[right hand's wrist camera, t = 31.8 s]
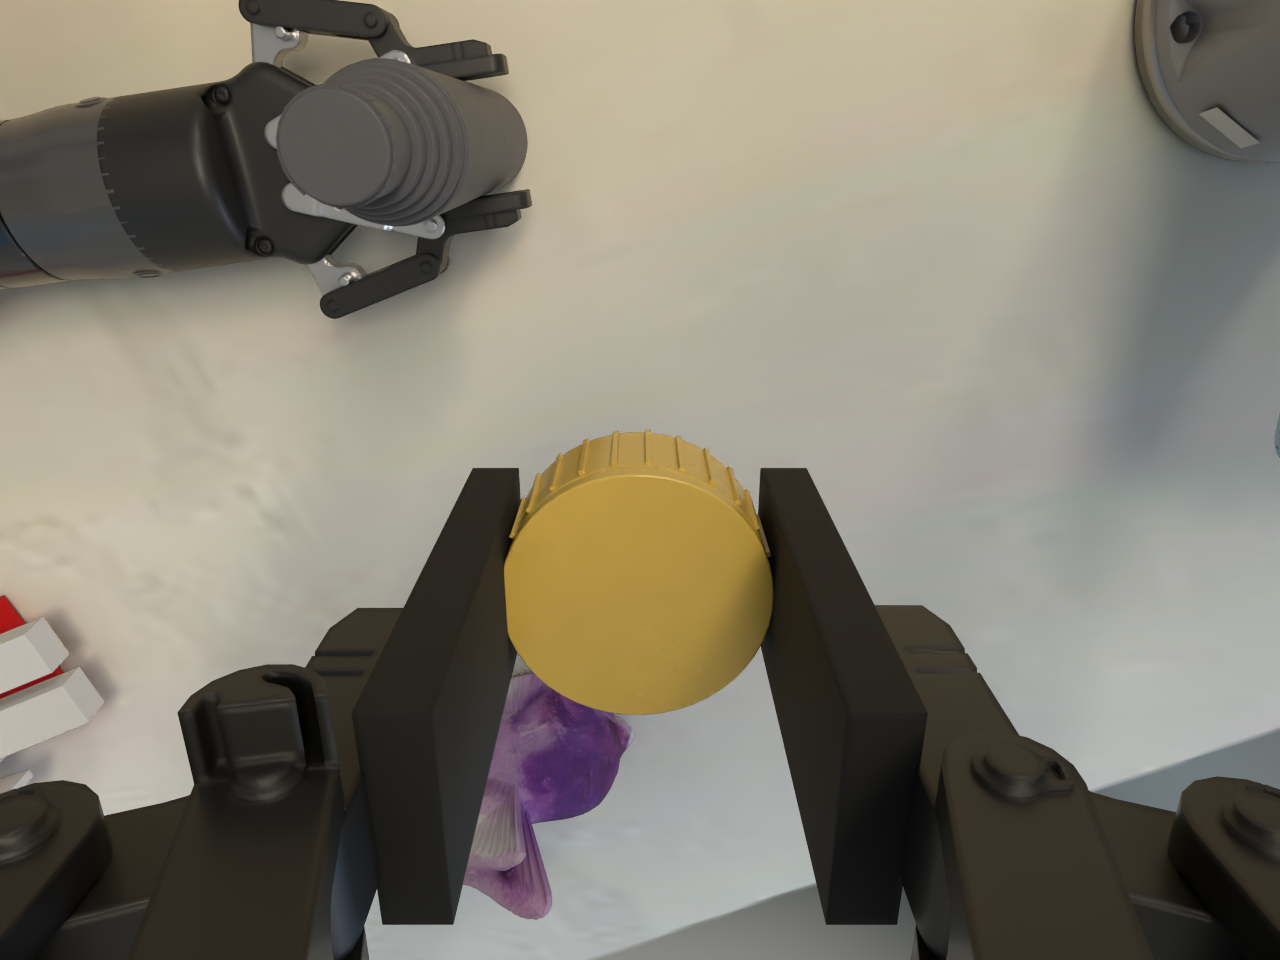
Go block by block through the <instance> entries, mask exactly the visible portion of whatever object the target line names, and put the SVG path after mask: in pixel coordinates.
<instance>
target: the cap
mask: <svg viewBox="0 0 1280 960" xmlns="http://www.w3.org/2000/svg"><path fill="white" fill-rule="evenodd" d="M509 537H510V538H512V541H511V544H510V547H509V550H508V553H507V556H506V560H505V563H504V581H505V597H506V612H507V628H508V636H509V638H510V640H511V642H512V644H513V646H514V648H515V649H516V651H517V653H518V654H519V656H520V657H521V658H522V660H523V661H524V663H525V664H526V665H527V666H528V667H529V669H530V670H531V671H532V672H533V673H534V674H535V675H536V676H537V677H538V678H539V679H541V680H542V681H543V682H544V683H545V684H546V685H548V686H549V687H550V688H552V689H553V690H555V691H556V692H558V693H560V694H561V695H563V696H565V697H567V698H569V699H571V700H573V701H575V702H577V703H579V704H582V705H585V706H587V707H590V708H593V709H597V710H601V711H605V712H610V713H618V714H626V715H647V714H657V713H664V712H669V711H673V710H678V709H681V708H684V707H687V706H690V705H693V704H695V703H697V702H699V701H701V700H704V699H706V698H708V697H710V696H711V695H713V694H715V693H716V692H718V691H719V690H721V689H722V688H724V687H725V686H726V685H728V684H729V683H730V682H731V681H733V680H734V679H735V678H736V677H737V676H738V675H739V674H740V673H741V672H742V671H743V670H744V669H745V668H746V667H747V665H748V664H749V663H750V661H751V660H752V659H753V657H754V656H755V655H756V653H757V651H758V649H759V647H760V646H761V644H762V642H763V640H764V638H765V635H766V633H767V630H768V627H769V624H770V620H771V616H772V611H773V599H774V587H773V577H772V572H771V568H770V563H769V560H768V557H771V553H770V550H769V546H768V543H767V540H766V537H765V534H764V530H763V527H762V524H761V521H760V517H759V515H756V512H755V509H754V506H753V502H752V499H751V496H750V492H749V491H748V489H746V490H744V489H743V487H742V486H741V485H740V483H739V482H738V481H737V479H736V478H735V477H734V473H733V470H732V468H731V467H730V466H728V467H727V468H726V467H725V466H724V465H723V464H722V463H721V462H719V461H718V460H717V459H716V458H714V457H713V456H712V455H710V452H709V450H708V449H706V448H704V450H702V449H700V448H699V447H697V446H695V445H693V444H690V443H688V442H685V441H683V440H682V439H681V437H680V436H676V438H673V437H670V436H666V435H661V434H653V433H650V430H645V433H637V432H630V433H621V434H619V431H615V432H614V433H613V435H609V436H605V437H601V438H597V439H594V440H592V441H589V440H588V439H586V440H584V441H583V444H582V445H580V446H578V447H576V448H574V449H572V450H570V451H568V452H567V453H566V454H564V455H562V454H561V453H560V454H559V455H557V458H556V461H555V462H554V463H553V464H552V465H551V466H549V467H548V468H547V469H546V470H545V471H544V472H543V474H542V475H541V474H539V473H538V474H537V475H536V477H535V480H534V484H533V487H532V489H531V490H530V492H529V494H528V495H527V497H526V498H524V497H522V499H521V502H520V505H519V508H518V511H517V514H516V517H515V520H514V523H513V527H512V530H511V533H510V536H509Z"/></svg>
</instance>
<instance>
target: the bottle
mask: <svg viewBox="0 0 1280 960" xmlns="http://www.w3.org/2000/svg"><path fill="white" fill-rule="evenodd" d="M276 145H277V155H278V158H279V160H280V163H281V166H282V170H283V171H284V173H285V174H286V176H287V177H288V179H289V180H290V182H291V184H292V185H293V186H294V187H295V188H296V189H297V190H298V191H299V192H300V193H301V194H302V195H303V196H304V195H305V194H307V195H309V196H310V197H312V198H314V199H315V200H317V201H319V202H320V203H322V204H325V205H329V206H332V207H335V208H343V209H345V210H346V211H348V212H349V213H351V214H352V215H354V216H356V217H358V218H360V219H363V220H365V221H368V222H372V223H376V224H381V225H385V226H394V227H397V226H410V225H415V224H418V223H422V222H424V221H427V220H429V219H431V218H433V217H436V216H438V215H440V214H442V213H445V212H447V211H449V210H451V209H453V208H456V207H458V206H460V205H462V204H465V203H467V202H469V201H471V200H474V199H476V198H478V197H480V196H483V195H485V194H487V193H489V192H491V191H494V190H496V189H498V188H500V187H502V186H504V185H506V184H507V183H509V182H510V181H511V180H512V179H513V178H514V177H515V176H516V175H517V174H518V172H519V171H520V169H521V167H522V165H523V163H524V160H525V157H526V152H527V134H526V129H525V125H524V122H523V120H522V118H521V116H520V114H519V113H518V111H517V110H516V108H515V107H514V106H513V105H512V104H511V103H510V102H509V101H508V100H507V99H506V98H505V97H503V96H502V95H500V94H499V93H497V92H495V91H492V90H490V89H486V88H483V87H480V86H477V85H474V84H471V83H468V82H465V81H462V80H459V79H456V78H453V77H450V76H447V75H444V74H440V73H437V72H434V71H431V70H428V69H425V68H422V67H419V66H416V65H413V64H410V63H407V62H403V61H399V60H395V59H387V58H374V59H368V60H363V61H360V62H357V63H354V64H352V65H349V66H347V67H345V68H343V69H341V70H339V71H338V72H336V73H335V74H333V75H332V76H331V77H330V78H329V79H328V80H327V81H326V82H325V83H324V84H321V85H317V86H313V87H308V88H307V89H305V90H303V91H302V92H300V93H299V94H297V95H295V96H294V97H293V98H292V100H291V101H290V102H289V103H288V104H287V105H286V107H285V108H284V110H283V112H282V114H281V117H280V119H279V121H278V126H277V133H276Z"/></svg>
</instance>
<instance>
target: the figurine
mask: <svg viewBox="0 0 1280 960" xmlns="http://www.w3.org/2000/svg"><path fill="white" fill-rule="evenodd" d="M633 736H634V732H633V730H632V728H631V726H630V725H629V724H628V723H627V722H626V721H625V720H623V719H621V718H619V717H618V716H616V715H614V714H612V713H610V712H605V711H601V710H597V709H593V708H590V707H587V706H585V705H582V704H579V703H577V702H575V701H573V700H571V699H569V698H567V697H565V696H563V695H561V694H560V693H558V692H556V691H555V690H553V689H552V688H550V687H549V686H548V685H546V684H545V683H544V682H543V681H542V680H541V679H539V678H538V677H537V676H536V675H535V674H534V673H528V674H524V675H520V676H514V677H512V678H511V681H510V685H509V689H508V694H507V698H506V702H505V707H504V711H503V715H502V719H501V724H500V728H499V732H498V736H497V741H496V745H495V749H494V753H493V758H492V762H491V766H490V770H489V775H488V779H487V783H486V787H485V792H484V796H483V800H482V804H481V809H480V813H479V817H478V821H477V826H476V830H475V834H474V838H473V843H472V847H471V851H470V855H469V860H468V864H467V868H466V872H465V877H464V881H463V885H468V886H471V887H473V888H476V889H478V890H479V891H481V892H482V893H484V894H486V895H487V896H489V897H490V898H492V899H493V900H494V901H496V902H497V903H498V904H499V905H501V906H502V907H504V908H506V909H507V910H509V911H511V912H512V913H514V914H515V915H518V916H519V917H522V918H526V919H535V920H537V919H538V918H543V917H544V916H545V915H547V914H548V913H549V911H550V909H551V906H552V893H551V889H550V885H549V882H548V879H547V875H546V872H545V868H544V865H543V861H542V858H541V855H540V851H539V848H538V844H537V841H536V837H535V834H534V831H533V827H532V824H534V823H539V822H546V821H554V820H562V819H567V818H572V817H575V816H579V815H582V814H584V813H587V812H589V811H590V810H592V809H593V808H595V807H596V806H598V805H599V804H600V803H601V802H602V800H603V799H604V798H605V796H606V795H607V793H608V792H609V790H610V788H611V786H612V784H613V782H614V779H615V777H616V775H617V773H618V768H619V761H620V758H621V756H622V754H623V752H624V751H625V750H626V748H627V747H628V746H629V745H630V744H631V742H632V740H633Z"/></svg>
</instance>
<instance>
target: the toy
mask: <svg viewBox="0 0 1280 960" xmlns="http://www.w3.org/2000/svg"><path fill="white" fill-rule="evenodd" d="M69 654H70V653H69V652H68V650H67V649H66V647H65V646H64V645H63V643H62V642H61V640H60V639H59V638H58V636H57V635H56V634H55V632H54V631H53V629H52V628H51V627H50V625H49V624H48V622H47V621H46V620H45V618H44V617H41V618H39V619H36V620H34V621H32V622H29V623H27V624H25V622H24V621H23V620H22V619H21V617H20V616H19V615H18V613H17V612H16V611H15V609H14V608H13V607H12V606H11V604H10V603H9V602H8V600H7V599H6V598H5V596H4V595H3V596H1V597H0V763H1V762H2V761H3V759H4V758H5V757H6V756H8V755H10V754H13V753H15V752H18V751H20V750H22V749H25V748H27V747H30V746H32V745H35V744H37V743H39V742H42V741H44V740H47V739H49V738H52V737H54V736H57V735H59V734H61V733H64V732H66V731H69V730H71V729H74V728H76V727H78V726H81V725H83V724H86V723H88V722H89V721H90V720H91V719H92V718H93V716H94V715H95V714H96V712H97V711H98V710H99V709H100V707H101V706H102V705H103V703H104V700H103V699H102V697H101V696H100V695H99V693H98V692H97V691H96V689H95V688H94V686H93V685H92V684H91V682H90V681H89V679H88V678H87V677H86V675H85V674H84V672H83V671H82V670H81V668H80V667H77V668H75V669H72V670H70V671H67V672H65V673H63V672H62V671H61V669H60V668H59V667H58V666H59V665H60V664H61V663H62V662H63V661H64V660H65V658H66V657H67V656H68V655H69ZM32 777H33V775H32V773H31V772H30V770H29V769H28V770H25V771H22V772H19V773H15V774H12V775H9V776H6V777H3V778H0V794H1V793H4V792H7V791H10V790H12V789H15V788H16V789H17V788H20V787H23V786H25V785H26V784H27V783H28V782H29V781H30V779H31V778H32Z"/></svg>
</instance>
